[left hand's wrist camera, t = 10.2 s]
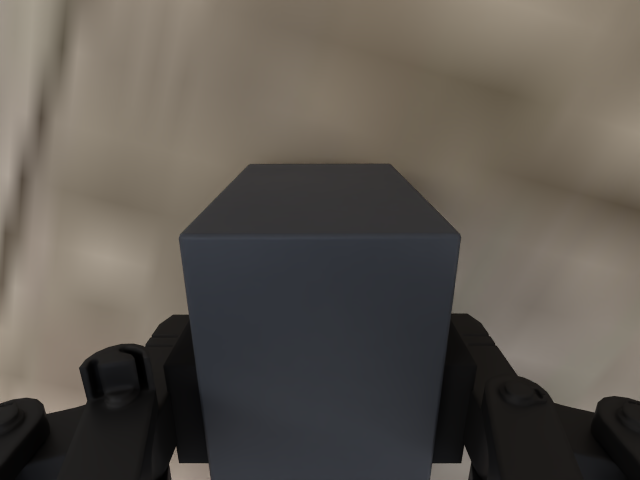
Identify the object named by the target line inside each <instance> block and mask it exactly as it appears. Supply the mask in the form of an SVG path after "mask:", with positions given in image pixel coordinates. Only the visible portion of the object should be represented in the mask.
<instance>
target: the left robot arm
mask: <svg viewBox="0 0 640 480" xmlns="http://www.w3.org/2000/svg"><path fill="white" fill-rule="evenodd" d="M79 370H80V374H81V377H82V381H83V385H84V389H85V393H86V397H87V403H86V405H83V406H80V407H76V408H72V409H67V410H63V411H58V412H54V413H49V414H46V412H45V409H44V405H43V404H42V403H41V402H40V401H39V400H37V399H32V398H21V399H13V400H10V401H6V402H3V403H1V404H0V480H171V473H170V467H169V462H170V460H171V457H172V455H173V452H174V450H175V447H177V453H178V459H179V463H209V461H208V453H207V446H206V438H205V431H204V423H203V416H202V408H201V401H200V393H199V386H198V378H197V371H196V363H195V356H194V348H193V341H192V333H191V326H190V318H189V315H172V316H171V317H169V318H168V319H166V320H165V321H164V322H162V323H161V324H159V326H158V327H157V329H156V330H155V332H154V333H153V335H152V338H150V339H149V340H148V342H147V343H146V346H145V347H144V346H141V345H137V344H120V345H115V346H111V347H108V348H105V349H103V350H101V351H98V352H96V353H94V354H93V355H92V356H90V357H89V358H87V359H86V360H85V361H84V362H83V364H82V365H81V366H80V367H79ZM464 445H465V447H466V450H467V452H468V454H469V457H470V459H471V467H470V473H469V478H468V480H640V401H636V400H633V399H630V398H625V397H617V396H612V397H605V398H603V399H602V400H600V401H599V402H598V404H597V407H596V410H595V413H594V412H589V411H585V410H580V409H576V408H571V407H567V406H563V405H560V404H556V403H553V400H552V399H551V397H550V396H549V394H548V393H547V392H546V391H545V390H544V389H543V388H541V387H540V386H539V385H538V384H536V383H534V382H532V381H530V380H528V379H526V378H523V377H519V376H517V374H516V373H515V371H514V370H513V368H512V367H511V365H510V364H509V363H508V361H507V360H506V358H505V357H504V355H503V354H502V353H501V351H500V350H499V348H498V347H497V346H495V343H494V341H493V340H492V338H491V337H490V336H489V334H488V332H487V331H486V330H485V328H484V327H483V325H482V324H481V323H480V322H479V321H477V320H476V319H474V318H473V317H472V316H470V315H469V314H451V319H450V327H449V334H448V342H447V350H446V358H445V366H444V373H443V381H442V389H441V397H440V404H439V412H438V420H437V428H436V436H435V443H434V451H433V459H432V463H461V461H462V455H463V449H464Z"/></svg>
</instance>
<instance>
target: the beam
mask: <svg viewBox="0 0 640 480" xmlns="http://www.w3.org/2000/svg"><path fill="white" fill-rule="evenodd" d="M460 241H461V236H460V234H459V233H458V232H457V231H456V230H455V229H454V228H453V227H452V226H451V224H450V223H449V222H448V221H447V220H446V219H445V218H444V217H443V216H442V215H441V214H440V213H439V212H438V211H437V210H436V209H435V208H434V207H433V206H432V205H431V204H430V203H429V202H428V201H427V200H426V199H425V198H424V197H423V196H422V195H421V194H420V193H419V192H418V191H417V190H416V189H415V188H414V187H413V186H412V185H411V184H410V183H409V182H408V181H407V180H406V179H405V178H404V177H403V176H402V175H401V174H400V173H399V172H398V171H397V170H396V169H395V168H394V167H393V166H392V165H391V164H250V165H248V166H247V167H246V168H245V169H244V170H243V171H242V172H241V173H240V174H239V175H238V176H237V177H236V178H235V179H234V180H233V181H232V182H231V183H230V184H229V185H228V186H227V187H226V188H225V189H224V190H223V191H222V192H221V193H220V194H219V195H218V196H217V197H216V198H215V199H214V201H213V202H212V203H211V204H210V205H209V206H208V207H207V208H206V209H205V210H204V211H203V212H202V213H201V214H200V215H199V216H198V217H197V218H196V219H195V220H194V221H193V222H192V223H191V224H190V225H189V226H188V227H187V228H186V229H185V230H184V231H183V232H182V233H181V234H180V236H179V243H180V250H181V258H182V265H183V273H184V280H185V288H186V295H187V303H188V311H189V318H190V326H191V333H192V341H193V348H194V356H195V363H196V371H197V378H198V386H199V393H200V401H201V408H202V416H203V423H204V431H205V438H206V446H207V453H208V461H209V469H210V476H211V480H430V475H431V467H432V459H433V451H434V443H435V436H436V428H437V420H438V412H439V404H440V397H441V389H442V381H443V373H444V366H445V358H446V350H447V342H448V334H449V327H450V319H451V311H452V303H453V295H454V288H455V280H456V272H457V264H458V257H459V249H460Z"/></svg>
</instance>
